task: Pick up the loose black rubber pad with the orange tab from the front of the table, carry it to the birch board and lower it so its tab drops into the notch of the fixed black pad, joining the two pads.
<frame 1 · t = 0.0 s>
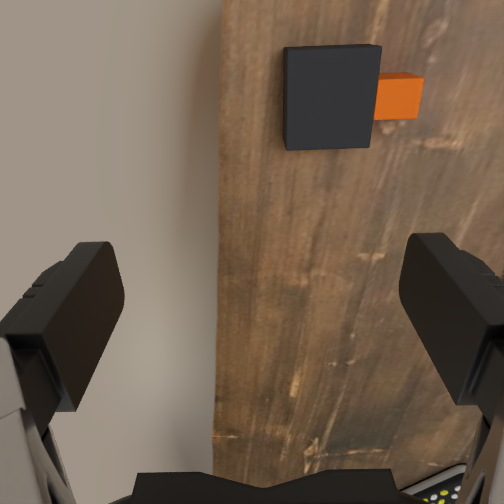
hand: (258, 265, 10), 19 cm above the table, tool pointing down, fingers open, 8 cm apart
remote control: (435, 485, 53), on the table
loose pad: (323, 94, 26), on the table
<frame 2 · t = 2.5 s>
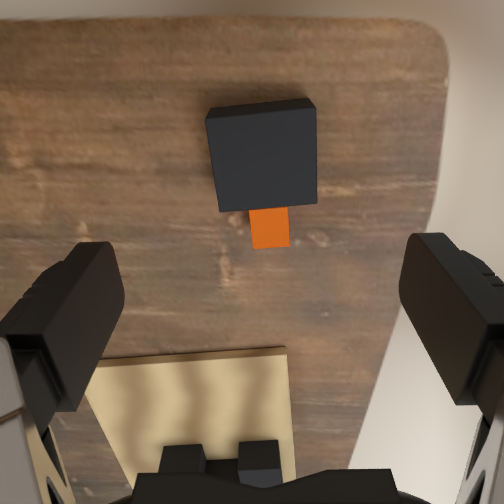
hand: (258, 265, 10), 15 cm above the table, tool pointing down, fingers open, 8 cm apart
fixed pad: (226, 466, 41), resting on board
board: (199, 425, 39), on the table
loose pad: (263, 149, 24), on the table
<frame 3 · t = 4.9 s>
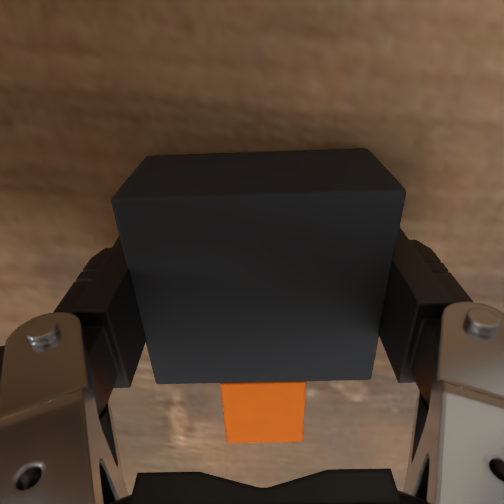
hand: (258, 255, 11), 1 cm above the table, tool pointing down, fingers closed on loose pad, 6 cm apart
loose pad: (258, 242, 12), on the table, touching gripper
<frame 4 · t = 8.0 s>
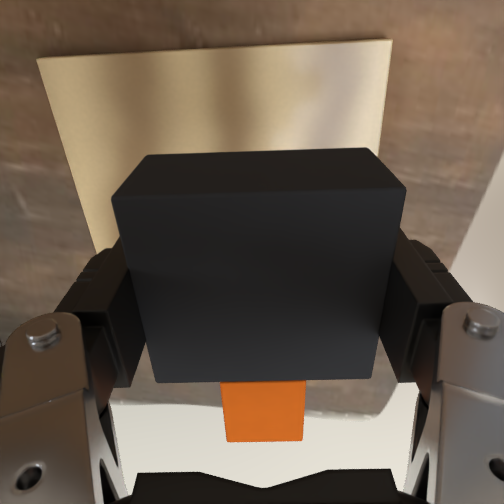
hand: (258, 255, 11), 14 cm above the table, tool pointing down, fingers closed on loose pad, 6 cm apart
board: (228, 219, 26), on the table
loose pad: (259, 240, 11), point 13 cm above the table, touching gripper
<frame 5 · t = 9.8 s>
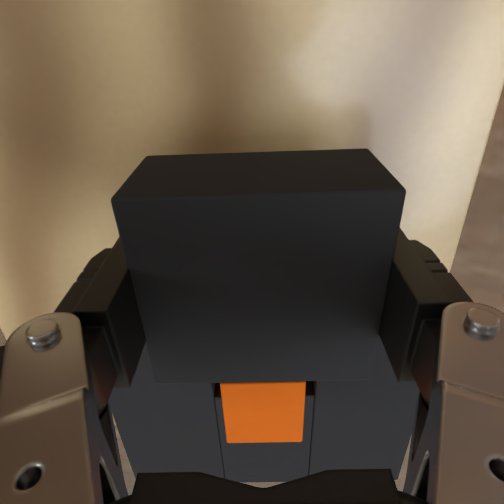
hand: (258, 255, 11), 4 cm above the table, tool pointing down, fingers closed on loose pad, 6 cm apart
fixed pad: (263, 363, 17), resting on board
board: (210, 242, 15), on the table
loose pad: (258, 241, 11), point 3 cm above the table, touching gripper
when the fingers open (2 cm above the table, at t = 11.1 s): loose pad stays where it is, resting on board.
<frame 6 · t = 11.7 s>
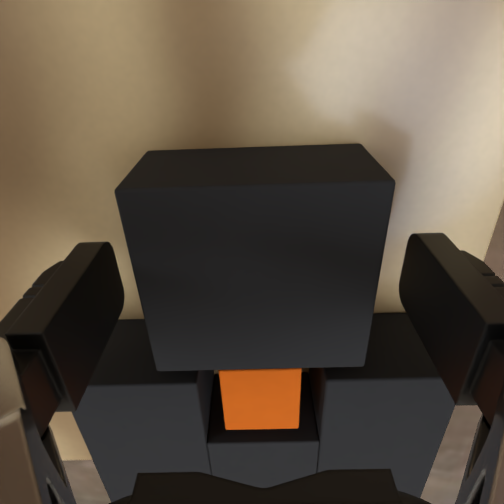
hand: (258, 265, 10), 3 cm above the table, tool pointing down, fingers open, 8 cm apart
fixed pad: (261, 396, 16), resting on board
board: (203, 266, 14), on the table
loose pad: (256, 234, 12), point 1 cm above the table, touching board
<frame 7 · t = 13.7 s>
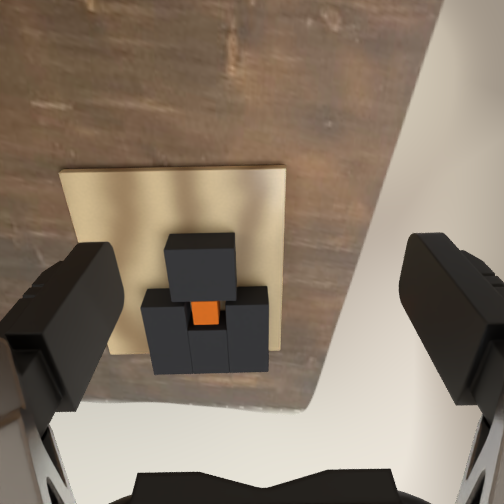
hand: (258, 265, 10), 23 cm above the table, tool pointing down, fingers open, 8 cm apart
fixed pad: (210, 321, 40), resting on board
board: (187, 269, 37), on the table
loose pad: (204, 258, 36), point 1 cm above the table, touching board
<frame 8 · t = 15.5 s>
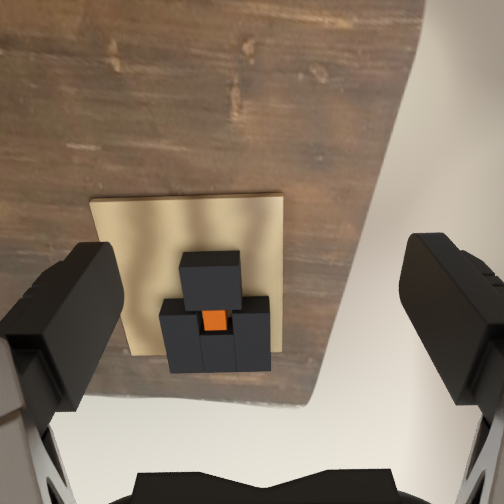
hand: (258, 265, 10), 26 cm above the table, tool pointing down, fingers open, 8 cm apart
fixed pad: (219, 326, 45), resting on board
board: (198, 281, 43), on the table
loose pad: (213, 272, 41), point 1 cm above the table, touching board
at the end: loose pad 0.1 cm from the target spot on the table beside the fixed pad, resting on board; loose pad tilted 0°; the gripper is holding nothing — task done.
